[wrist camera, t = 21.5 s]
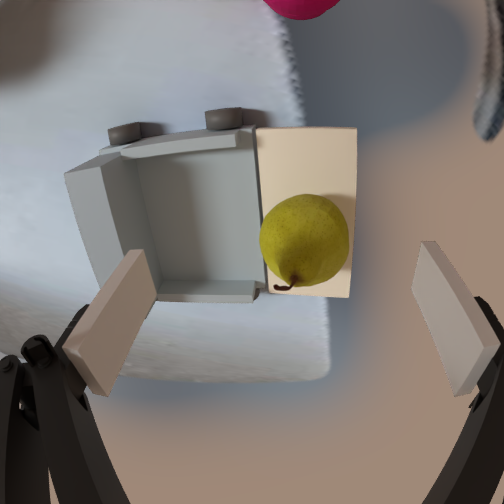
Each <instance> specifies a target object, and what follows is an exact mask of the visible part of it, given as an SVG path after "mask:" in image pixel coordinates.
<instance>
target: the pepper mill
mask: <svg viewBox="0 0 504 504" xmlns="http://www.w3.org/2000/svg"><path fill="white" fill-rule="evenodd" d="M264 1H265V2H266V3H267V4H268V5H269V6H270V7H271V8H272V9H273V10H274V11H275V12H277V13H278V14H280V15H282V16H284V17H287V18H290V19H295V20H307V19H312V18H315V17H318V16H320V15H321V14H323V13H324V12H325V11H326V10H328V9H330V8H332V7H333V6H335V5H336V4H337V3H338V2H339V1H340V0H264Z"/></svg>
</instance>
